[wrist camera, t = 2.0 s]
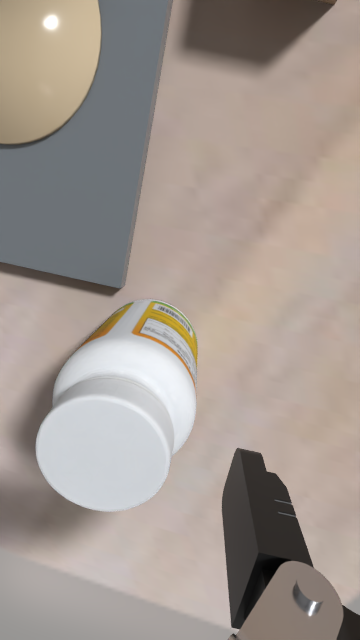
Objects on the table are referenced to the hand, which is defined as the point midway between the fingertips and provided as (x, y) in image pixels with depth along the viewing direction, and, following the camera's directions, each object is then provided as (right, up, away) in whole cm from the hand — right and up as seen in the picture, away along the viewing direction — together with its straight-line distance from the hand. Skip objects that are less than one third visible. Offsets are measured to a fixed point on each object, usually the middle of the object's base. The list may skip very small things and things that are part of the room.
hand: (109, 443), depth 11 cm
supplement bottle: (+1, +3, +8) cm, 9 cm away
